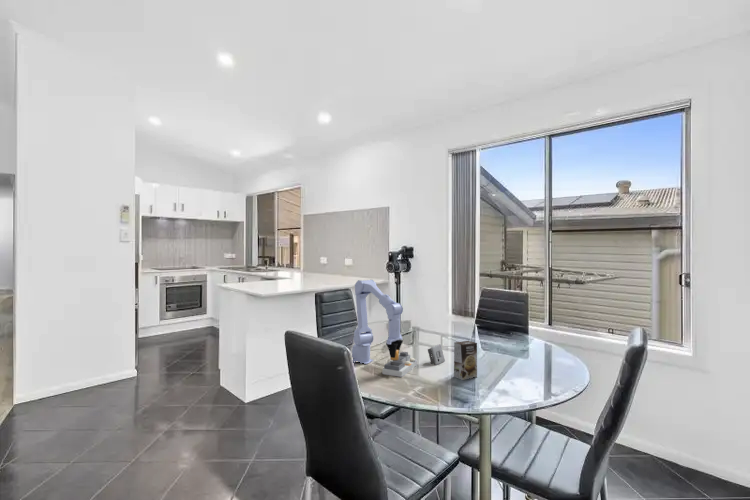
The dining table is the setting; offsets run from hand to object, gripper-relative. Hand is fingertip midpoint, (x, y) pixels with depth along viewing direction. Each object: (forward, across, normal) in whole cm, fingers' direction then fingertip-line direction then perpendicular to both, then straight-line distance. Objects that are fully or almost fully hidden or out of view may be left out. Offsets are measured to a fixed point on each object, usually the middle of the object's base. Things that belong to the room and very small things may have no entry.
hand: (394, 356), depth 178 cm
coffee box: (+8, +9, -33) cm, 35 cm away
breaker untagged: (+4, +14, 0) cm, 15 cm away
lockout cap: (+1, 0, 0) cm, 1 cm away
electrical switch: (+8, +26, -14) cm, 30 cm away
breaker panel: (+8, +6, -1) cm, 10 cm away
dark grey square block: (+5, +8, 0) cm, 9 cm away
